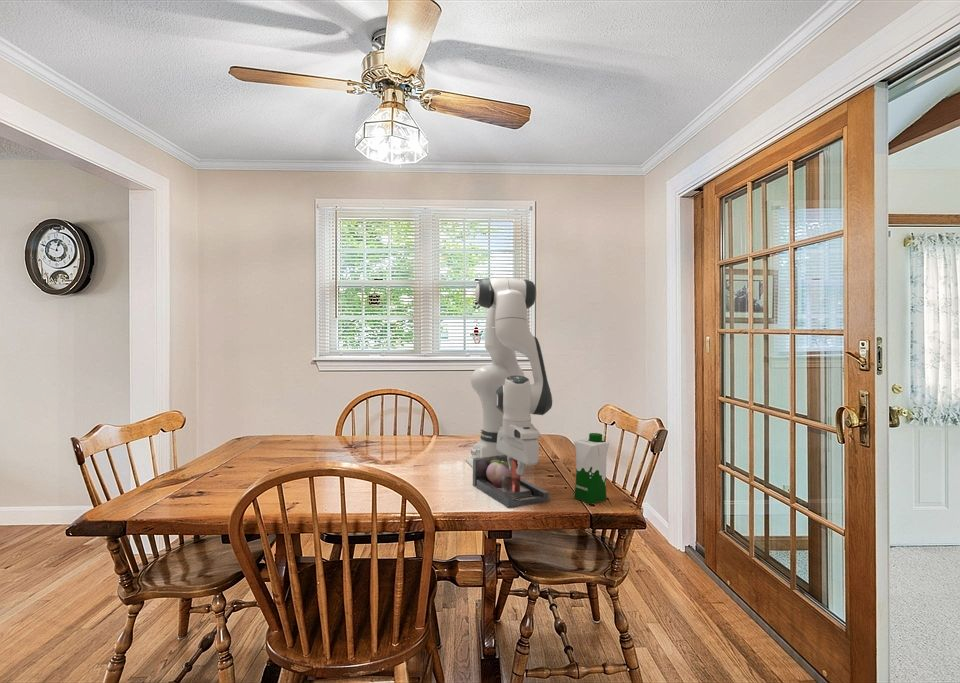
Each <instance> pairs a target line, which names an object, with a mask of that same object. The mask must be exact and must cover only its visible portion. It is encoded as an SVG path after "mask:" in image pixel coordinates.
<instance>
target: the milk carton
mask: <svg viewBox="0 0 960 683" xmlns="http://www.w3.org/2000/svg"><path fill="white" fill-rule="evenodd" d="M573 444H574V450H575V456H576V457H575V486H574V494H573V499H576V500H578V501H580V500H581V502H583V501H584V502H583V503H586V502H587V503H586V504H589V503H590V505H593V503H594V504H598V503H600V502H604V501H607V456H608V450H609V445H610V441H609V442H608V441H605V440H603V433H598V432H590V433H589V434H588V438H584V439H581V438H580V439H578V440H574V441H573ZM597 502H598V503H597Z"/></svg>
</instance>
